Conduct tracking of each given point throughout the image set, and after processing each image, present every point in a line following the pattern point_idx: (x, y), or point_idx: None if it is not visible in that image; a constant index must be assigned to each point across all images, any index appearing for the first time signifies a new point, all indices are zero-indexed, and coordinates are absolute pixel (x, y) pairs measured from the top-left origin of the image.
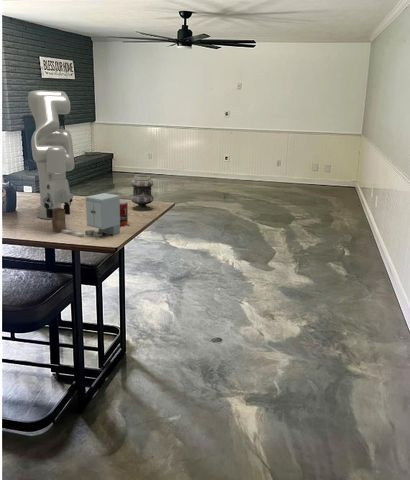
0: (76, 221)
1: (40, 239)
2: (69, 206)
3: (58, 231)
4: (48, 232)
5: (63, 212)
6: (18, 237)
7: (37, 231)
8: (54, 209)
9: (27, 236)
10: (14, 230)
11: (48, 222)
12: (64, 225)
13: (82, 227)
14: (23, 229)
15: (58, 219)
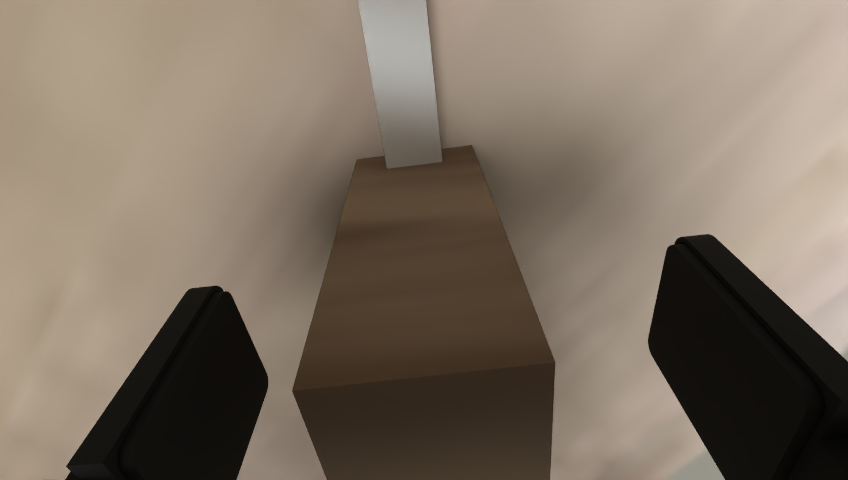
0: (73, 381)
1: (830, 47)
2: (97, 440)
3: (475, 155)
4: (536, 236)
5: (356, 323)
6: (844, 271)
7: (578, 325)
8: (525, 466)
9: (775, 247)
10: (664, 438)
11: (322, 469)
12: (369, 188)
13: (90, 159)
14: (602, 426)
15: (496, 233)
